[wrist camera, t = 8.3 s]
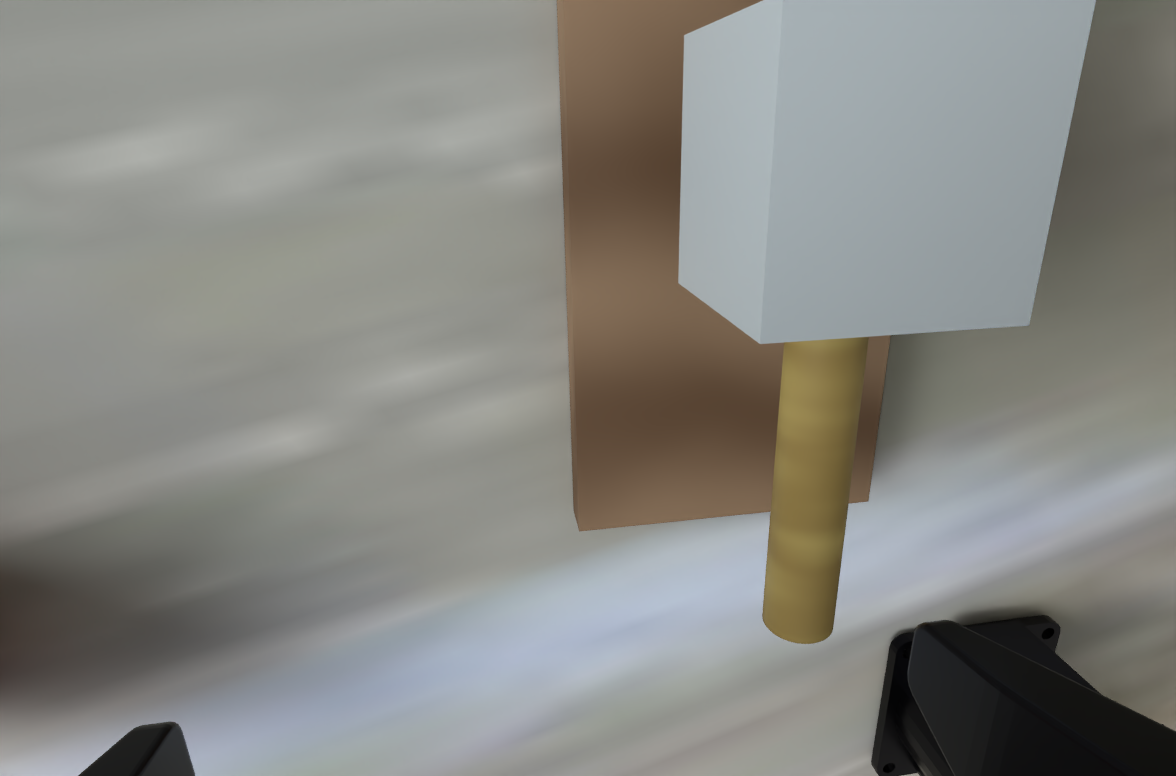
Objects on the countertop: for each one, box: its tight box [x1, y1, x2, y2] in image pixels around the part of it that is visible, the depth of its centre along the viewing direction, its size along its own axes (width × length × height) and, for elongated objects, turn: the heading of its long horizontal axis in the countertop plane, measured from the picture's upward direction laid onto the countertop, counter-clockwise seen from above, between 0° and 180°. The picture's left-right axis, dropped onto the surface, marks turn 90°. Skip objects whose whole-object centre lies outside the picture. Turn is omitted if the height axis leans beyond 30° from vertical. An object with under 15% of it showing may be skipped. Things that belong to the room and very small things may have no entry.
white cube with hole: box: [678, 0, 1096, 344], centre depth 13 cm, size 5×5×5 cm
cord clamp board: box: [557, 0, 891, 644], centre depth 15 cm, size 18×9×8 cm, turn 1°
